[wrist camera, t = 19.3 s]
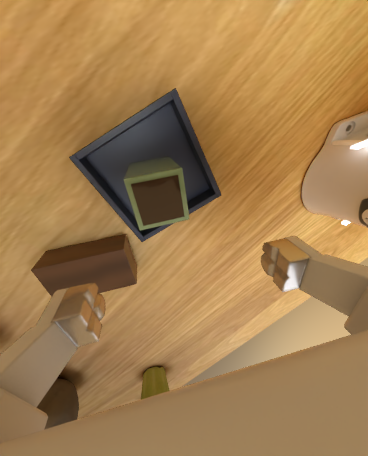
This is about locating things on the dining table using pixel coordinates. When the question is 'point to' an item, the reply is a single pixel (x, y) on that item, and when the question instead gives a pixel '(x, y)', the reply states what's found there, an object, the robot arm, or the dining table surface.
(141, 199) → the green box
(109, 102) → the dining table surface
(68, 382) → the grey-brown rounded piece
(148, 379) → the plant pot
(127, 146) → the tray
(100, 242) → the walnut block
